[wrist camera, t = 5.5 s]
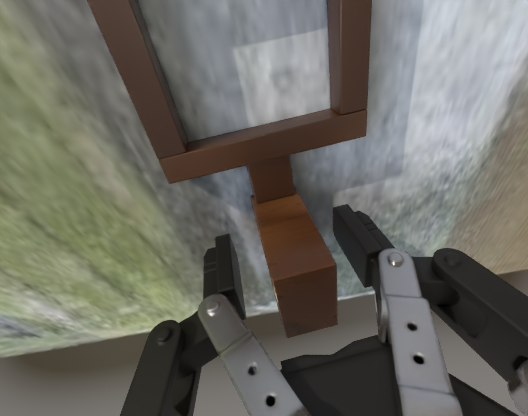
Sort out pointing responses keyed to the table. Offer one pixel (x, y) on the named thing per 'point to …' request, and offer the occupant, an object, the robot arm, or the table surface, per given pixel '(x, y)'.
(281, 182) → the brown wooden frame
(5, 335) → the table surface
